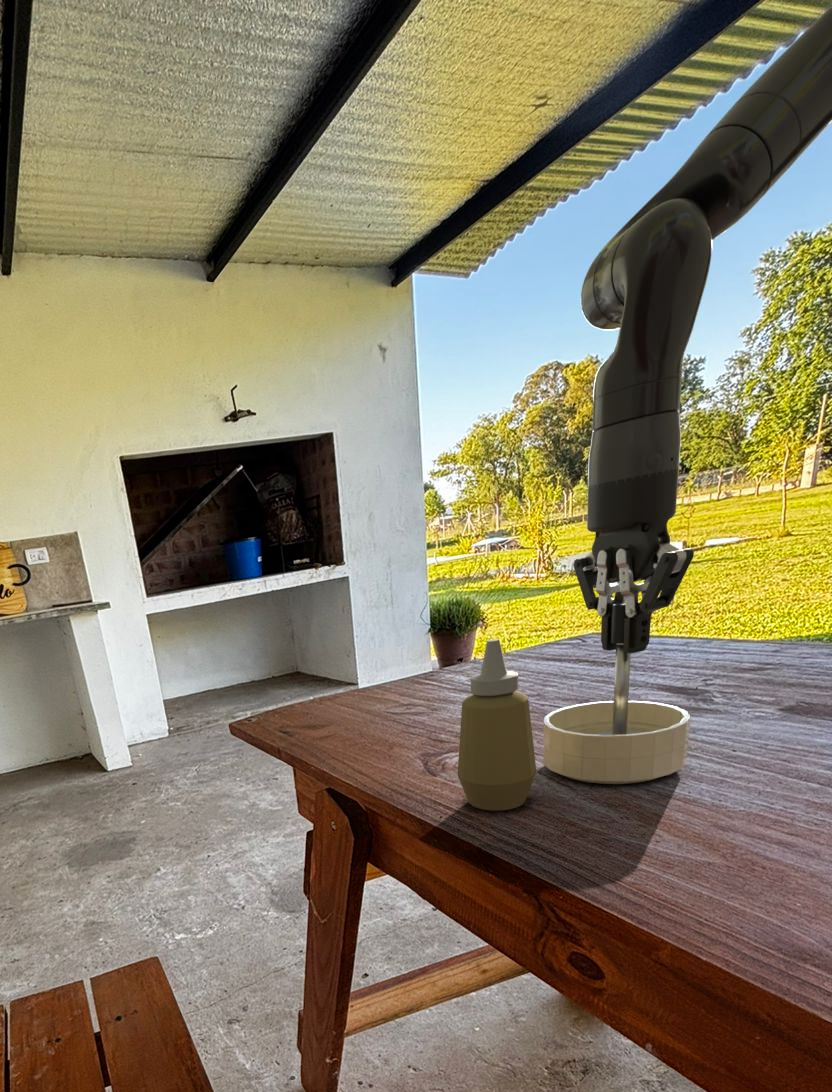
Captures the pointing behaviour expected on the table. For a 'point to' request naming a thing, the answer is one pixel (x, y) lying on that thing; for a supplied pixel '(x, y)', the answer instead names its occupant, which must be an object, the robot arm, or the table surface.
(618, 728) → the rod on round base
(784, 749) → the table surface
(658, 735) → the bowl
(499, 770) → the squeeze bottle
